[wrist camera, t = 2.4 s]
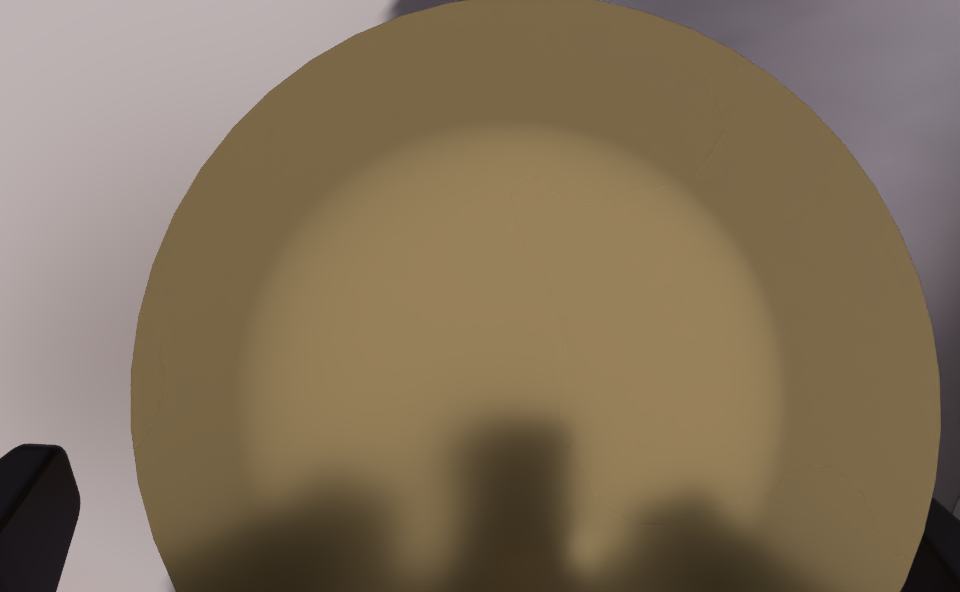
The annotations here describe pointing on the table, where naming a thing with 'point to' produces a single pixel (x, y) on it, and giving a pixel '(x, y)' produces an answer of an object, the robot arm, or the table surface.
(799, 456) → the brass cylinder
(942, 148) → the table surface
